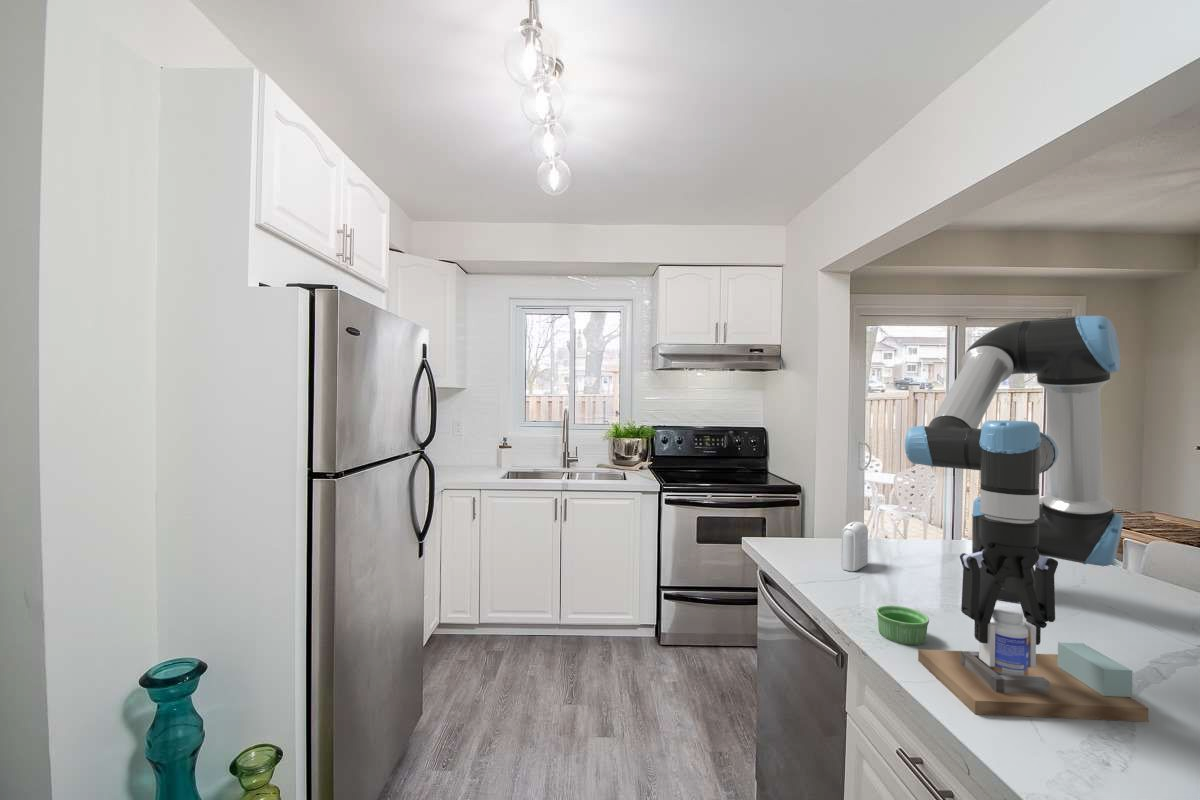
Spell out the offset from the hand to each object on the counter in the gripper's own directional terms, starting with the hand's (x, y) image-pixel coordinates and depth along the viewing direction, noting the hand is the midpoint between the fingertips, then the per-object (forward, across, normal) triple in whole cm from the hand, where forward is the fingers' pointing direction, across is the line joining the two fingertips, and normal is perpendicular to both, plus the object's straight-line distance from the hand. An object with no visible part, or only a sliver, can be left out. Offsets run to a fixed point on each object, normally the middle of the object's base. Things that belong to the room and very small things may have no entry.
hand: (1006, 662), depth 86 cm
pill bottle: (+1, 0, 0) cm, 1 cm away
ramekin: (+5, +7, -19) cm, 21 cm away
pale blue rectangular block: (+2, -13, 0) cm, 13 cm away
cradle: (+4, -3, -1) cm, 5 cm away
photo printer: (+5, -1, -62) cm, 62 cm away
